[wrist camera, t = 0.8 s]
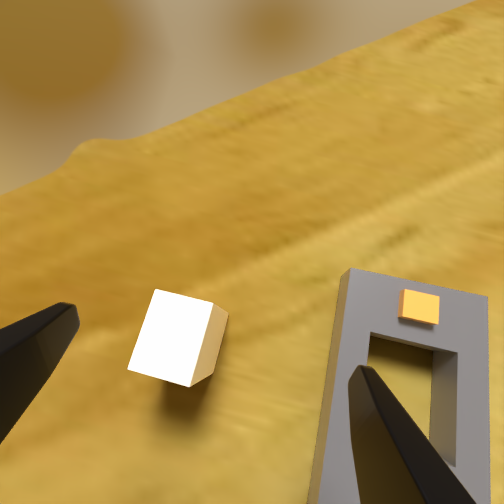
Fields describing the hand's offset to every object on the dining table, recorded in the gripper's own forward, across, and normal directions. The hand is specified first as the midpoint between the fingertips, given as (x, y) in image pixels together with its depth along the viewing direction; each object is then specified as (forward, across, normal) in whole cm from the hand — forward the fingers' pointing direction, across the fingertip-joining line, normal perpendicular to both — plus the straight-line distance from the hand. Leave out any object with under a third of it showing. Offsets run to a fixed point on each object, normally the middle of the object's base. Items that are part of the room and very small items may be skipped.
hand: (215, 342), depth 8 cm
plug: (+10, +3, +12) cm, 16 cm away
